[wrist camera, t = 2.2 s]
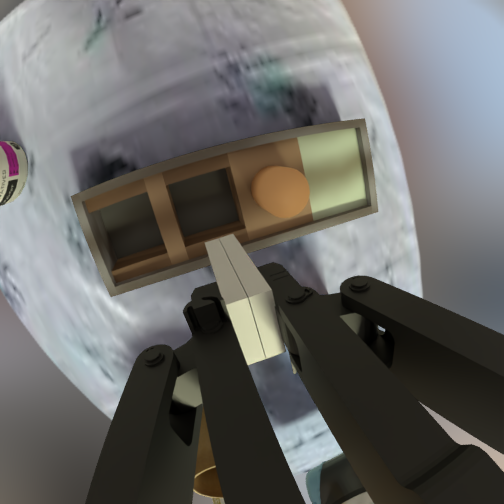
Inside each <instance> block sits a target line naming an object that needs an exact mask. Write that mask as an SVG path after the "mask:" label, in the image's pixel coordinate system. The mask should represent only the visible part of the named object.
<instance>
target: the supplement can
mask: <svg viewBox="0 0 504 504" xmlns="http://www.w3.org/2000/svg"><path fill="white" fill-rule="evenodd" d="M27 175H28V163H27V159H26V155H25V153H24V151H23V150H22V148H21V146H20V145H18V144H16V143H15V142H11V141H0V206H2V205H4V204H7V203H9V202H12V201H14V200H15V199H16V198H17V197H18V196H19V195H20V194H21V192H22V190H23V188H24V187H25V183H26V179H27Z"/></svg>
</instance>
